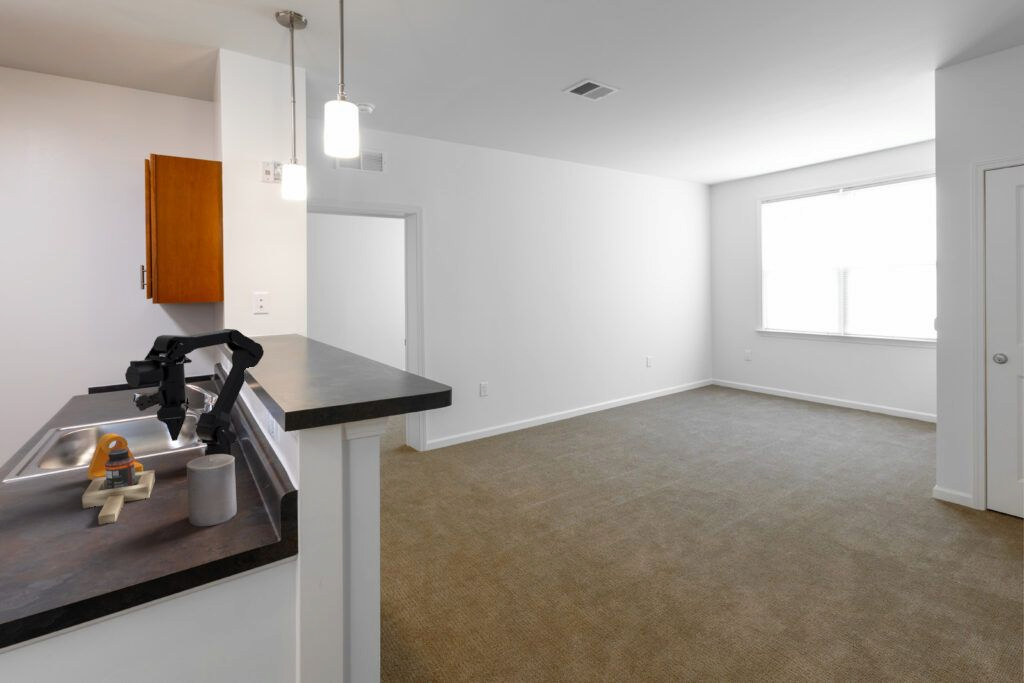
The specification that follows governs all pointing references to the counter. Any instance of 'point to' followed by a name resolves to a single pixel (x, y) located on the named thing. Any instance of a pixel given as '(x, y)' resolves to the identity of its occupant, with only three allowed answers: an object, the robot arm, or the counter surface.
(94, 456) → the bracket
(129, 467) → the supplement bottle
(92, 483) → the wooden frame with handle
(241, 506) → the counter surface
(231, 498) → the pillar candle
